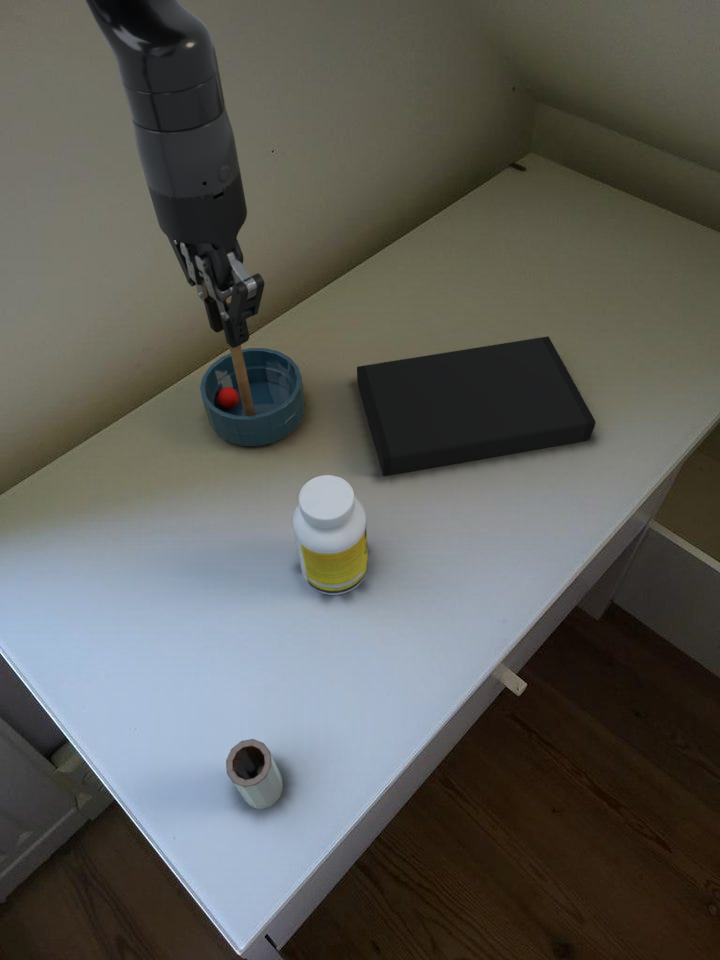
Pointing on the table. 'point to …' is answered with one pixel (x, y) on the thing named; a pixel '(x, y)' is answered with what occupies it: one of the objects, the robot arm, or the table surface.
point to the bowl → (255, 397)
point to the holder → (254, 773)
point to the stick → (242, 377)
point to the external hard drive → (471, 405)
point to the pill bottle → (331, 535)
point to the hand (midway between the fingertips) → (230, 334)
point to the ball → (228, 398)
